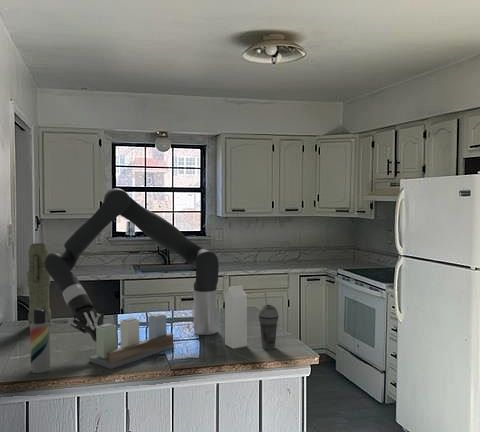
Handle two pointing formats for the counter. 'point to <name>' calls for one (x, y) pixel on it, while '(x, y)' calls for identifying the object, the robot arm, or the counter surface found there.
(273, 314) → the beverage cup
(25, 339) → the counter surface
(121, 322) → the key cream
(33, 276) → the thermos
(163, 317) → the key slate
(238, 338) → the milk
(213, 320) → the robot arm
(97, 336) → the key sage
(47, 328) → the lotion bottle
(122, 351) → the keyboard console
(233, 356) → the counter surface
